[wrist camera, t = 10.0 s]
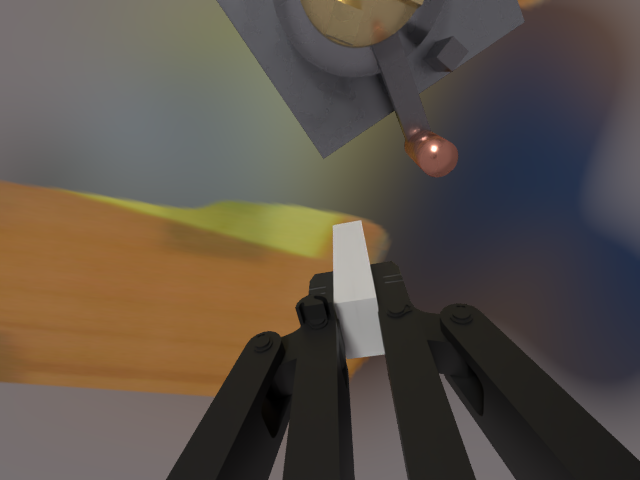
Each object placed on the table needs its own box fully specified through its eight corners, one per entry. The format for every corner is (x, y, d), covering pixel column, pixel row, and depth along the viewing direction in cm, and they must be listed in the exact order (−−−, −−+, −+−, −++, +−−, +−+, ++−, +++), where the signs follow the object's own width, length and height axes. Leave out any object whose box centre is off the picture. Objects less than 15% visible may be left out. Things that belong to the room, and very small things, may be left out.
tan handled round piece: (273, -60, 28) (256, -102, 21) (396, -145, 25) (419, -223, 19) (376, 178, 37) (386, 200, 30) (473, 133, 34) (507, 147, 28)
